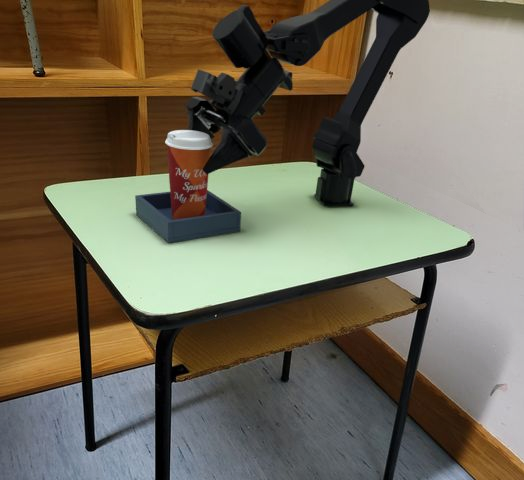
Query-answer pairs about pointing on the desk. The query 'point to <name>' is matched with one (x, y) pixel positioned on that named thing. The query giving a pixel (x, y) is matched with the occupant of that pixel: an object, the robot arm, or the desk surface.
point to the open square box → (161, 221)
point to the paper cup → (188, 172)
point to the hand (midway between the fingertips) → (191, 164)
